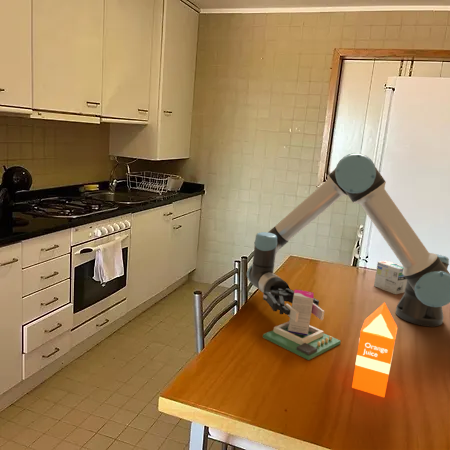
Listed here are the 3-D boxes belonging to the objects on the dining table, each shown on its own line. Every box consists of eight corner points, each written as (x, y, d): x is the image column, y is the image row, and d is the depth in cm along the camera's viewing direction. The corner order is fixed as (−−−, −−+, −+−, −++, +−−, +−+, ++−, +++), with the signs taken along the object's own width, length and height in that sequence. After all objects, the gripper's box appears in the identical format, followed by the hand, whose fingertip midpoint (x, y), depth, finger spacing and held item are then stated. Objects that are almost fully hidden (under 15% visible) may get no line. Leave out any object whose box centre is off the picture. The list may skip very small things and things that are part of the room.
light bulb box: (405, 292, 179) (410, 267, 177) (395, 295, 175) (399, 269, 173) (383, 284, 188) (387, 259, 186) (373, 286, 184) (377, 261, 182)
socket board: (340, 343, 128) (341, 335, 128) (308, 360, 117) (309, 351, 117) (295, 324, 139) (296, 316, 139) (262, 337, 128) (263, 329, 128)
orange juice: (388, 380, 111) (401, 305, 107) (384, 397, 103) (399, 317, 99) (356, 371, 114) (368, 297, 110) (350, 387, 106) (363, 309, 102)
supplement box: (308, 336, 127) (313, 298, 124) (287, 332, 128) (292, 295, 125) (308, 328, 132) (313, 291, 130) (288, 324, 133) (293, 288, 131)
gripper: (300, 297, 149) (339, 326, 128) (244, 299, 142) (275, 331, 121) (302, 275, 148) (342, 302, 127) (246, 277, 141) (278, 305, 120)
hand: (309, 316), depth 124 cm, fingers closed on supplement box, 8 cm apart
